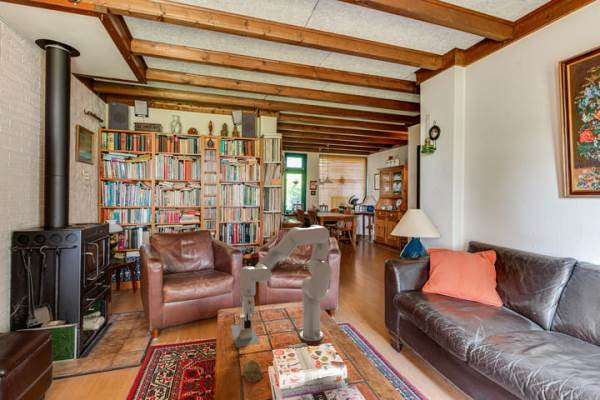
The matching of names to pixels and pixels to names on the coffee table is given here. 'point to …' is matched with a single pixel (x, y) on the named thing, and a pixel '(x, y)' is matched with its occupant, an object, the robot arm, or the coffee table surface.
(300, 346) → the fossil replica
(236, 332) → the rubber mat
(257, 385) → the coffee table surface
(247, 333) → the maple block
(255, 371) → the dark olive rounded lump
